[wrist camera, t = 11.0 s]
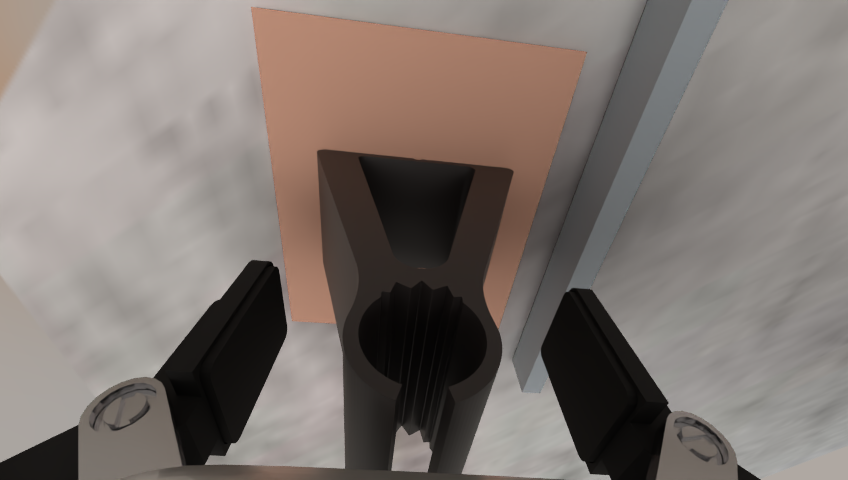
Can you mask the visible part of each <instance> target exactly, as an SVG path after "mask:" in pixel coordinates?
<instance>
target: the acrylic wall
mask: <svg viewBox="0 0 848 480" xmlns="http://www.w3.org/2000/svg"><path fill="white" fill-rule="evenodd" d="M727 2H728V0H648V1H647V4H646V7H645V9H644V12H643V15H642V17H641V20H640V22H639V25H638V28H637V30H636V33H635V36H634V38H633V41H632V44H631V46H630V49H629V52H628V54H627V57H626V60H625V62H624V65H623V68H622V70H621V73H620V76H619V78H618V81H617V84H616V86H615V89H614V92H613V94H612V97H611V100H610V102H609V105H608V107H607V110H606V113H605V115H604V118H603V121H602V123H601V126H600V129H599V131H598V134H597V137H596V139H595V142H594V145H593V147H592V150H591V153H590V155H589V158H588V161H587V163H586V166H585V169H584V171H583V174H582V177H581V179H580V182H579V185H578V187H577V190H576V192H575V195H574V198H573V200H572V203H571V206H570V208H569V211H568V214H567V216H566V219H565V222H564V224H563V227H562V230H561V232H560V235H559V238H558V240H557V243H556V246H555V248H554V251H553V254H552V256H551V259H550V262H549V264H548V267H547V269H546V272H545V275H544V277H543V280H542V283H541V285H540V288H539V291H538V293H537V296H536V299H535V301H534V304H533V307H532V309H531V312H530V315H529V317H528V320H527V323H526V325H525V328H524V331H523V333H522V336H521V339H520V341H519V344H518V347H517V349H516V352H515V354H514V357H513V360H512V361H513V364H514V367H515V370H516V374H517V377H518V380H519V383H520V387H521V390H522V392H527V393H540V392H541V390H542V388H543V386H544V384H545V382H546V380H547V378H548V376H549V375H548V373H547V370H546V367H545V365H544V362H543V360H542V357H541V346H542V344H543V341H544V339H545V337H546V334H547V332H548V330H549V327H550V325H551V323H552V320H553V318H554V316H555V314H556V311H557V309H558V307H559V304H560V302H561V300H562V297H563V295H564V293H565V292H569V290H570V289H571V288H582V289H590V288H591V286H592V284H593V282H594V280H595V277H596V275H597V273H598V271H599V269H600V267H601V265H602V263H603V261H604V259H605V257H606V255H607V252H608V250H609V248H610V246H611V244H612V242H613V240H614V238H615V236H616V234H617V232H618V229H619V227H620V225H621V223H622V221H623V219H624V217H625V215H626V213H627V211H628V209H629V207H630V204H631V202H632V200H633V198H634V196H635V194H636V192H637V190H638V188H639V186H640V184H641V181H642V179H643V177H644V175H645V173H646V171H647V169H648V167H649V165H650V163H651V161H652V159H653V156H654V154H655V152H656V150H657V148H658V146H659V144H660V142H661V140H662V138H663V136H664V133H665V131H666V129H667V127H668V125H669V123H670V121H671V119H672V117H673V115H674V113H675V111H676V108H677V106H678V104H679V102H680V100H681V98H682V96H683V94H684V92H685V90H686V88H687V85H688V83H689V81H690V79H691V77H692V75H693V73H694V71H695V69H696V67H697V65H698V63H699V60H700V58H701V56H702V54H703V52H704V50H705V48H706V46H707V44H708V42H709V40H710V37H711V35H712V33H713V31H714V29H715V27H716V25H717V23H718V21H719V19H720V17H721V15H722V12H723V10H724V8H725V6H726V4H727Z"/></svg>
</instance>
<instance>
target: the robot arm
mask: <svg viewBox="0 0 848 480" xmlns="http://www.w3.org/2000/svg"><path fill="white" fill-rule="evenodd" d="M286 334H287V322H286V315H285V309H284V302H283V295H282V288H281V281H280V274H279V269H278V267H274V266H273V263H272V262H269V261H257V260H252V261H250V262H249V263H248V264H247V266H246V267H245V268H244V270H243V271H242V272H241V273H240V275H239V276H238V277H237V279H236V280H235V281H234V282H233V284H232V285H231V286H230V288H229V289H228V290H227V291H226V293H225V294H224V295H223V297H222V298H221V299H220V300H217V301H215V302H214V303H213V304H212V305H211V306H210V307H209V308H208V310H207V311H206V312H205V313H204V315H203V316H202V317H201V318H200V320H199V321H198V322H197V323H196V325H195V326H194V327H193V329H192V330H191V331H190V332H189V334H188V335H187V336H186V337H185V339H184V340H183V341H182V342H181V344H180V345H179V346H178V347H177V349H176V350H175V351H174V352H173V354H172V355H171V356H170V357H169V359H168V360H167V361H166V363H165V364H164V365H163V366H162V368H161V369H160V370H159V371H158V373H157V374H156V375H155V376H154V378H149V377H141V378H134V379H130V380H127V381H124V382H121V383H119V384H117V385H115V386H113V387H111V388H109V389H107V390H106V391H105V392H103V393H102V394H100V395H99V396H97V397H96V398H95V399H94V400H93V401H92V402H91V403H90V404H89V405H88V406H87V408H86V409H85V411H84V412H83V414H82V415H81V418H80V422H79V425H77V426H75V427H73V428H71V429H69V430H67V431H65V432H63V433H61V434H59V435H57V436H55V437H52V438H50V439H48V440H46V441H44V442H42V443H40V444H38V445H36V446H34V447H32V448H30V449H28V450H25V451H23V452H22V453H19V454H18V455H15V456H13V457H11V458H9V459H7V460H5V461H3V462H1V463H0V480H562V479H543V478H525V477H506V476H487V475H467V474H446V473H426V472H405V471H384V470H361V469H337V468H314V467H291V466H254V465H205V463H206V461H207V459H208V457H209V455H217V456H225V455H226V453H227V451H228V449H229V447H230V445H231V443H236V442H237V441H238V440H239V438H240V436H241V434H242V432H243V430H244V428H245V425H246V423H247V421H248V419H249V417H250V415H251V412H252V410H253V408H254V406H255V404H256V401H257V399H258V397H259V395H260V393H261V390H262V388H263V386H264V384H265V382H266V380H267V377H268V375H269V373H270V371H271V369H272V366H273V364H274V362H275V360H276V358H277V355H278V353H279V351H280V349H281V347H282V345H283V342H284V340H285V338H286ZM541 357H542V360H543V362H544V365H545V367H546V370H547V373H548V375H549V378H550V381H551V383H552V386H553V389H554V391H555V394H556V397H557V399H558V402H559V405H560V407H561V410H562V413H563V415H564V418H565V421H566V423H567V426H568V428H569V431H570V434H571V436H572V439H573V442H574V444H575V447H576V450H577V452H578V455H579V457H580V458H581V460H582V461H585V462H586V464H587V467H588V469H589V472H590V474H599V475H609V476H610V478H611V480H760V479H759V478H757V477H756V476H754V475H753V474H751V473H750V472H748V471H747V470H745V469H744V468H742V467H741V466H739V465H738V464H737V459H736V454H735V452H734V450H733V448H732V446H731V445H730V443H729V442H728V441H727V439H726V438H725V437H724V436H723V435H722V433H720V432H719V431H718V430H717V429H716V428H715V427H714V426H713V425H711V424H710V423H708V422H707V421H705V420H704V419H702V418H700V417H698V416H696V415H694V414H692V413H688V412H684V411H674V412H671V411H670V409H669V408H668V406H667V404H668V401H667V400H666V398H665V397H664V395H663V394H662V392H661V391H660V389H659V388H658V386H657V385H656V383H655V382H654V380H653V379H652V378H651V376H650V375H649V373H648V372H647V370H646V369H645V367H644V366H643V364H642V363H641V361H640V360H639V358H638V357H637V355H636V354H635V353H634V351H633V350H632V348H631V347H630V345H629V344H628V342H627V341H626V339H625V338H624V336H623V335H622V333H621V332H620V330H619V329H618V327H617V326H616V325H615V323H614V322H613V320H612V319H611V317H610V316H609V314H608V313H607V311H606V310H605V308H604V307H603V305H602V304H601V302H600V301H599V300H598V298H597V297H596V295H595V294H594V292H593V291H592V290H590V289H582V288H571V289H570V290H569V292H565V293H564V295H563V297H562V300H561V302H560V304H559V307H558V309H557V311H556V314H555V316H554V318H553V320H552V323H551V325H550V327H549V330H548V332H547V334H546V337H545V339H544V341H543V344H542V346H541Z"/></svg>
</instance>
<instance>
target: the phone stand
mask: <svg viewBox="0 0 848 480" xmlns="http://www.w3.org/2000/svg"><path fill="white" fill-rule="evenodd" d="M317 163H318V181H319V199H320V217H321V235H322V253H323V264H324V269H325V273H326V278H327V283H328V287H329V292H330V296H331V301H332V306H333V310H334V315H335V319H336V324H337V328H338V333H339V338H340V342H341V347H342V351H343V384H344V431H345V469H361V470H384V471H391V468H392V460H393V452H394V444H395V436H396V432H397V430H398V429H399V428H400V427H401V426H403V428H404V429H405V431H406V432H407V433H408V435H411V434H413V433H415V432H417V431H419V430H420V432H421V436H422V439H423V442H429V444H430V449H431V450H432V457H431V461H430V465H429V469H428V473H446V474H461V473H462V470H463V468H464V465H465V462H466V459H467V456H468V453H469V451H470V448H471V445H472V442H473V439H474V436H475V433H476V431H477V428H478V425H479V422H480V419H481V416H482V414H483V411H484V408H485V405H486V402H487V399H488V396H489V394H490V391H491V388H492V385H493V382H494V379H495V377H496V374H497V371H498V368H499V365H500V362H501V357H502V342H501V337H500V333H499V330H498V328H497V326H496V324H495V322H494V320H493V318H492V316H491V314H490V312H489V310H488V307H487V304H486V301H485V297H484V292H483V286H484V282H485V279H486V275H487V271H488V268H489V264H490V260H491V256H492V253H493V249H494V245H495V241H496V237H497V234H498V230H499V226H500V222H501V218H502V215H503V211H504V207H505V203H506V200H507V196H508V192H509V188H510V184H511V181H512V177H513V173H514V171H513V170H511V169H508V168H502V167H493V166H483V165H473V164H464V163H454V162H444V161H434V160H425V159H422V160H415V159H414V158H405V157H395V156H386V155H376V154H366V153H357V152H347V151H337V150H327V149H322V150H318V151H317ZM422 268H426V269H422Z"/></svg>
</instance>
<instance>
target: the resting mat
mask: <svg viewBox="0 0 848 480" xmlns="http://www.w3.org/2000/svg"><path fill="white" fill-rule="evenodd" d="M251 10H252V17H253V25H254V32H255V40H256V48H257V55H258V63H259V71H260V78H261V86H262V94H263V101H264V109H265V117H266V124H267V132H268V140H269V147H270V155H271V163H272V170H273V178H274V186H275V193H276V201H277V209H278V216H279V224H280V231H281V239H282V247H283V254H284V262H285V270H286V277H287V285H288V293H289V300H290V308H291V316H292V321H301V322H318V323H335V324H336V319H335V315H334V310H333V306H332V301H331V296H330V292H329V287H328V283H327V278H326V273H325V269H324V264H323V253H322V235H321V217H320V199H319V181H318V163H317V151H318V150H322V149H327V150H337V151H347V152H357V153H366V154H376V155H386V156H395V157H405V158H414V159H415V160H422V159H425V160H434V161H444V162H454V163H464V164H473V165H483V166H493V167H502V168H508V169H511V170H513V171H514V173H513V177H512V181H511V184H510V188H509V192H508V196H507V200H506V203H505V207H504V211H503V215H502V218H501V222H500V226H499V230H498V234H497V237H496V241H495V245H494V249H493V253H492V256H491V260H490V264H489V268H488V271H487V275H486V279H485V282H484V286H483V292H484V297H485V301H486V304H487V307H488V310H489V312H490V314H491V316H492V318H493V320H494V322H495V324H496V326H497V328H498V329H499V326H500V323H501V319H502V316H503V313H504V310H505V307H506V304H507V301H508V298H509V294H510V291H511V288H512V285H513V282H514V279H515V276H516V273H517V269H518V266H519V263H520V260H521V257H522V254H523V251H524V248H525V244H526V241H527V238H528V235H529V232H530V229H531V226H532V223H533V219H534V216H535V213H536V210H537V207H538V204H539V201H540V198H541V194H542V191H543V188H544V185H545V182H546V179H547V176H548V173H549V169H550V166H551V163H552V160H553V157H554V154H555V151H556V148H557V144H558V141H559V138H560V135H561V132H562V129H563V126H564V123H565V119H566V116H567V113H568V110H569V107H570V104H571V101H572V98H573V94H574V91H575V88H576V85H577V82H578V79H579V76H580V73H581V69H582V66H583V63H584V60H585V57H586V54H587V52H584V51H576V50H569V49H561V48H554V47H547V46H539V45H532V44H524V43H517V42H509V41H502V40H494V39H487V38H479V37H472V36H464V35H457V34H449V33H442V32H434V31H427V30H419V29H412V28H404V27H397V26H389V25H382V24H375V23H367V22H360V21H352V20H345V19H337V18H330V17H322V16H315V15H307V14H300V13H292V12H285V11H277V10H270V9H262V8H255V7H251ZM422 269H426V268H422Z"/></svg>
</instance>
